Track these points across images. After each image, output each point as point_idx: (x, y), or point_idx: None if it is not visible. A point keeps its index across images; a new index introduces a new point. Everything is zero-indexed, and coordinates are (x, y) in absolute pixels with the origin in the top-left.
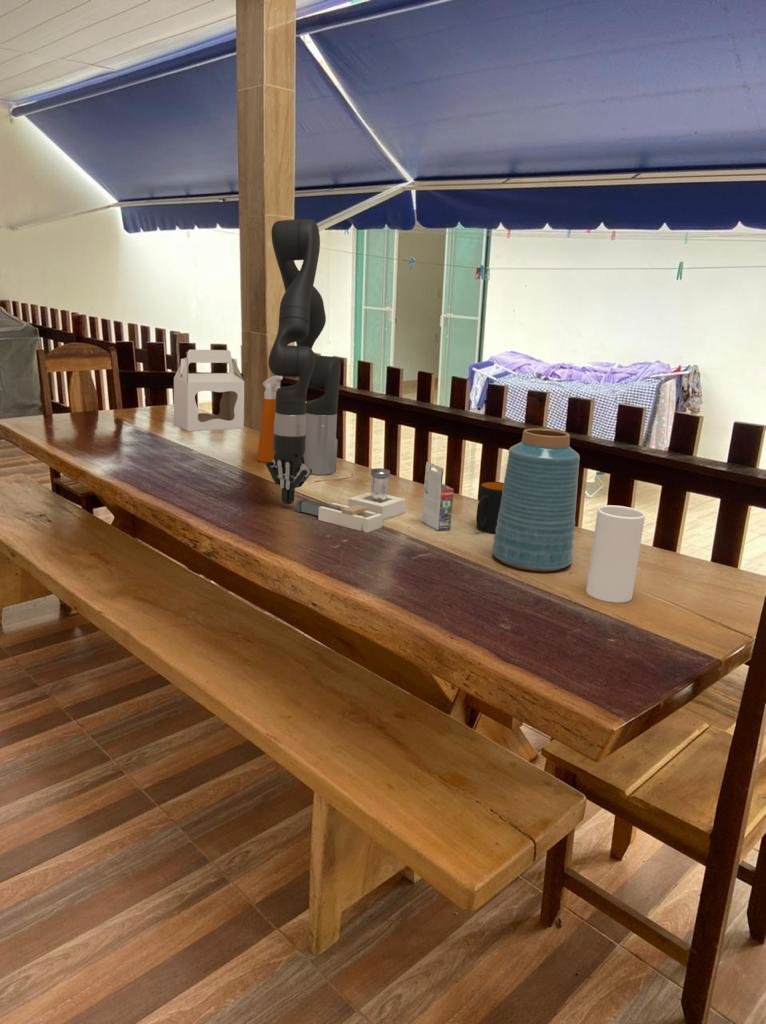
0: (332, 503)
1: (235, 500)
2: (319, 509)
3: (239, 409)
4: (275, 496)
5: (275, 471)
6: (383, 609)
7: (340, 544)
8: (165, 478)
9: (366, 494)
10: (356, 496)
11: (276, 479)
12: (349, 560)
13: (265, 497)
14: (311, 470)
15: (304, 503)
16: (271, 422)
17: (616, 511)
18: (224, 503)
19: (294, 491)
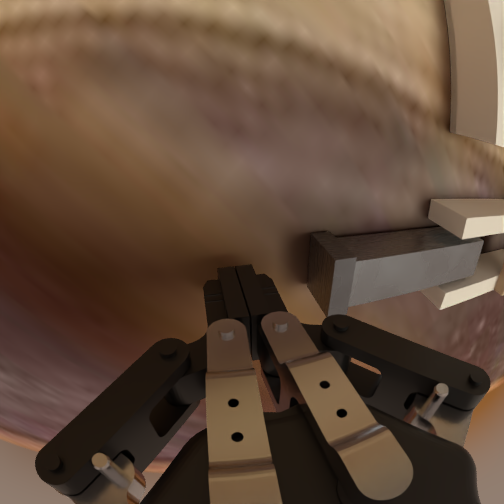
0: (465, 233)
1: (33, 350)
2: (437, 304)
3: None
4: (26, 178)
5: (149, 450)
6: (499, 384)
7: (476, 341)
8: None
9: (501, 33)
10: (499, 88)
11: (180, 412)
12: (485, 362)
13: (23, 234)
14: (487, 382)
15: (364, 299)
16: None
17: None
18: (60, 389)
19: (285, 308)
